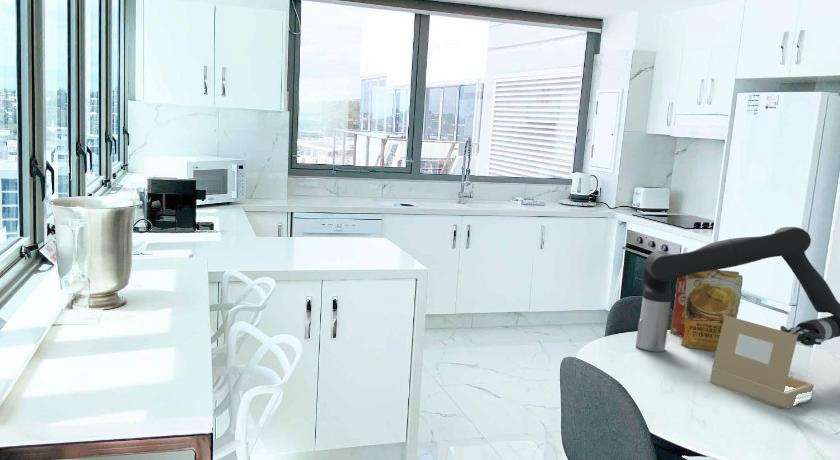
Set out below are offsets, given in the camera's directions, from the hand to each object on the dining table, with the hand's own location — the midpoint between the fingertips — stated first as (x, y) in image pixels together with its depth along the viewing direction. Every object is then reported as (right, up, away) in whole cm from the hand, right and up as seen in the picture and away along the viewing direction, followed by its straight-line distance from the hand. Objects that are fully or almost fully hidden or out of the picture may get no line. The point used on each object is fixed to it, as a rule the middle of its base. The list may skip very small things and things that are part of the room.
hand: (786, 338), depth 209 cm
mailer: (-10, -15, -4) cm, 18 cm away
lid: (-15, -2, -10) cm, 18 cm away
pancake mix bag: (-10, -9, +35) cm, 38 cm away
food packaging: (-9, -7, +50) cm, 51 cm away
